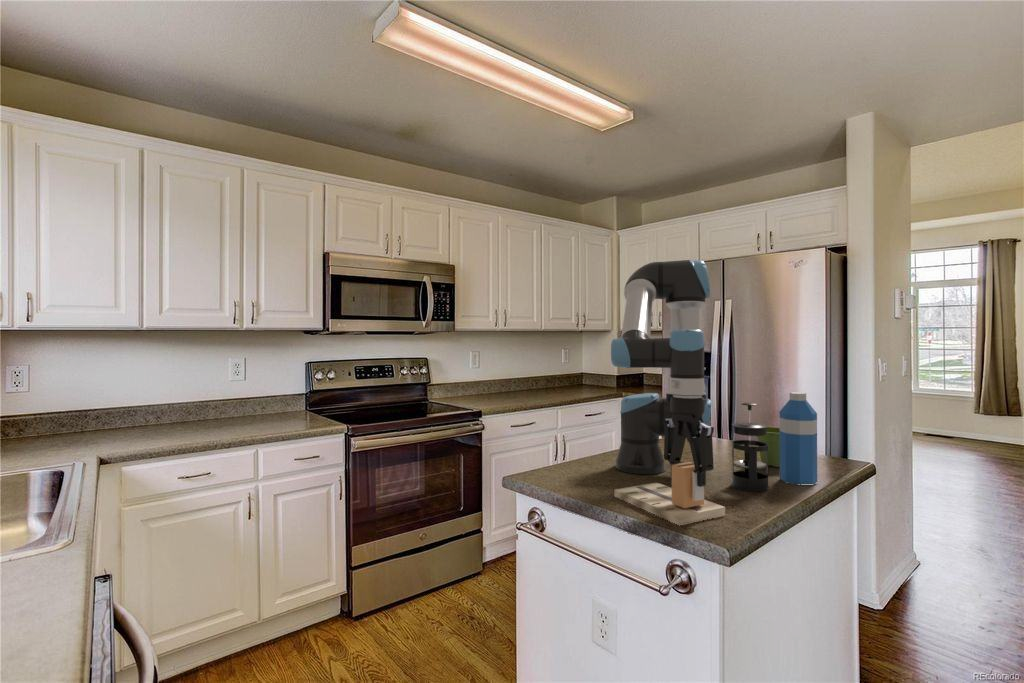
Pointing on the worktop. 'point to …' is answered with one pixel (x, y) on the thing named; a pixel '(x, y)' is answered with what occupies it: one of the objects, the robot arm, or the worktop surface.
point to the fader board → (667, 504)
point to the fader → (683, 485)
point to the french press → (750, 457)
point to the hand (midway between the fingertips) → (687, 495)
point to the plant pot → (771, 446)
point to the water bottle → (798, 441)
